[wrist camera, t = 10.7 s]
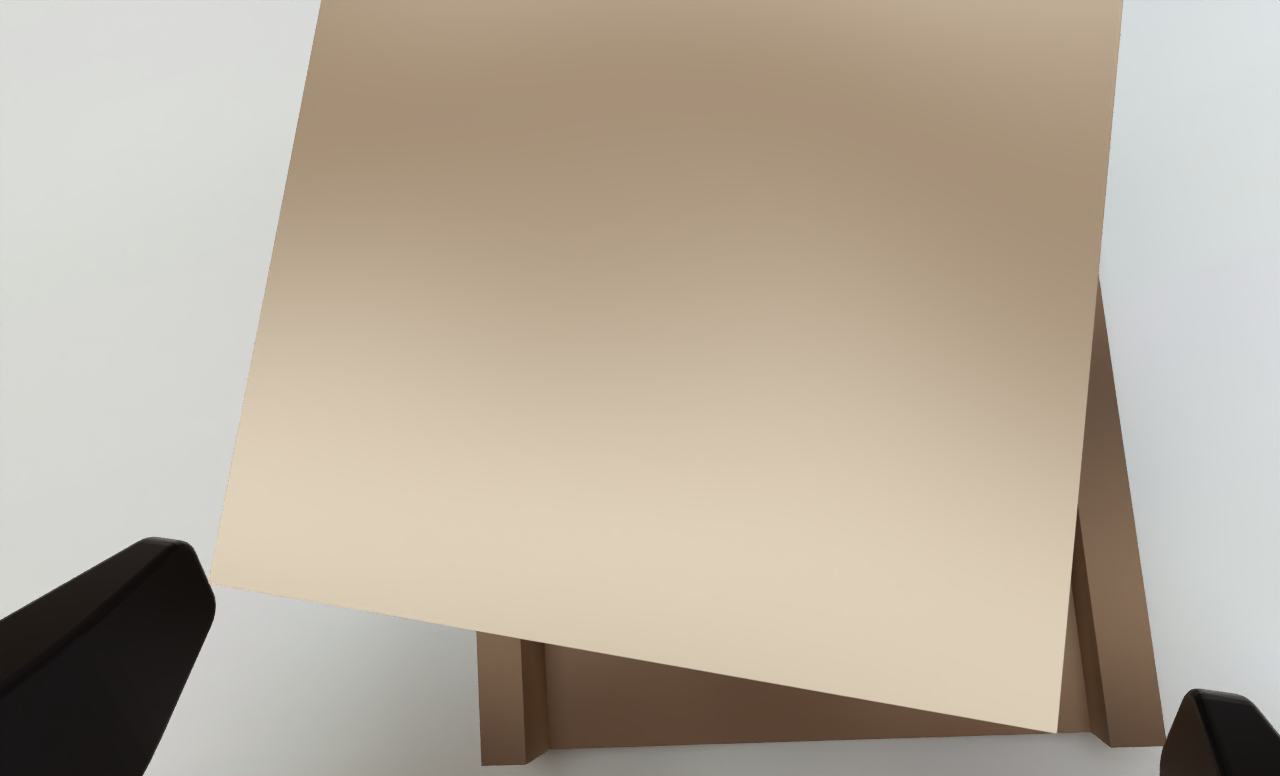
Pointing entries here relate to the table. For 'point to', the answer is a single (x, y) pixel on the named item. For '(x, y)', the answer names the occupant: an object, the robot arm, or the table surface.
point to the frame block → (691, 335)
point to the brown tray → (766, 712)
